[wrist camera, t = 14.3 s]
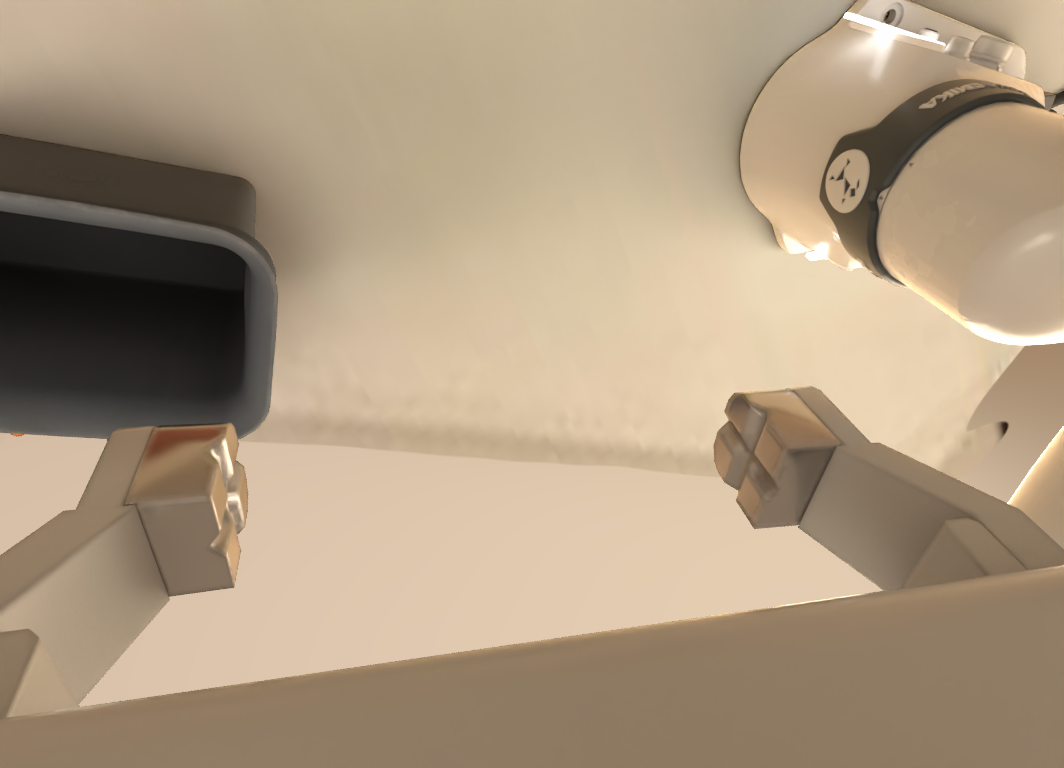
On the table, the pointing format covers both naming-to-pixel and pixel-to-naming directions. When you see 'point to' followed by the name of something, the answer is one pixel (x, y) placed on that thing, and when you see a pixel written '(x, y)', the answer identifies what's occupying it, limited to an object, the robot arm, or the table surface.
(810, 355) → the table surface
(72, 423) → the storage bin
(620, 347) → the table surface
